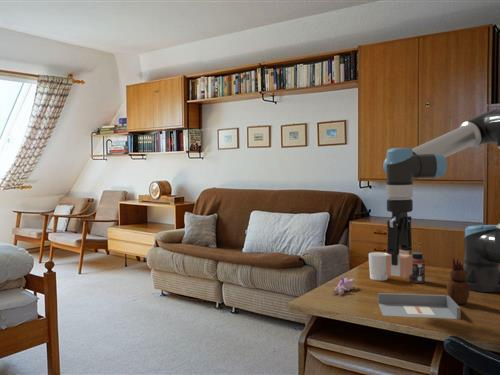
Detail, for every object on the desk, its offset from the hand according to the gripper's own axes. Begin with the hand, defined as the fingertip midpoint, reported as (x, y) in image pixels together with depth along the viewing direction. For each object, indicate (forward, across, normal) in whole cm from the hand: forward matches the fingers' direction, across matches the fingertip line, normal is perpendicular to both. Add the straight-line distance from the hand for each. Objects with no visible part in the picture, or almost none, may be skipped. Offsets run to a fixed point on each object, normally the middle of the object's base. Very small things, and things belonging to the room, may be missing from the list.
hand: (399, 273), depth 138 cm
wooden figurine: (+13, -21, +11) cm, 27 cm away
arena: (+12, -4, +4) cm, 14 cm away
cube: (0, 0, 0) cm, 0 cm away
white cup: (+13, -35, -22) cm, 43 cm away
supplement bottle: (+13, -39, -9) cm, 42 cm away
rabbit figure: (+13, -10, -25) cm, 30 cm away
